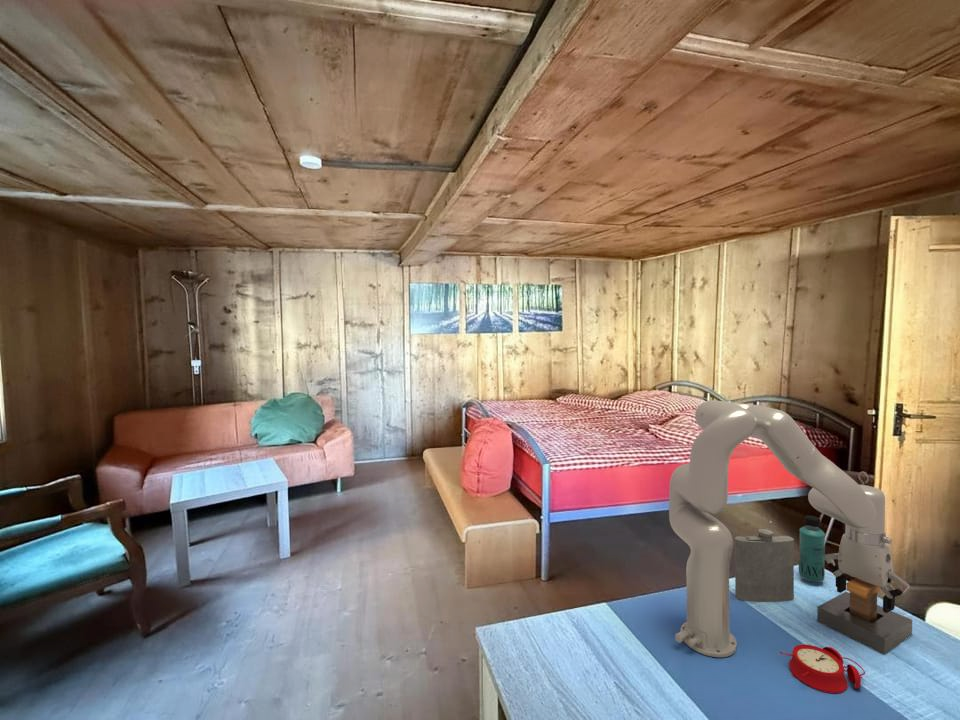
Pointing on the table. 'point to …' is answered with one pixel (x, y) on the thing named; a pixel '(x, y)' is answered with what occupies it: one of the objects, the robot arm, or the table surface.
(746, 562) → the hip flask
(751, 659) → the table surface
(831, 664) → the alarm clock
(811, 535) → the beverage bottle
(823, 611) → the collar
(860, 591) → the wooden peg block
